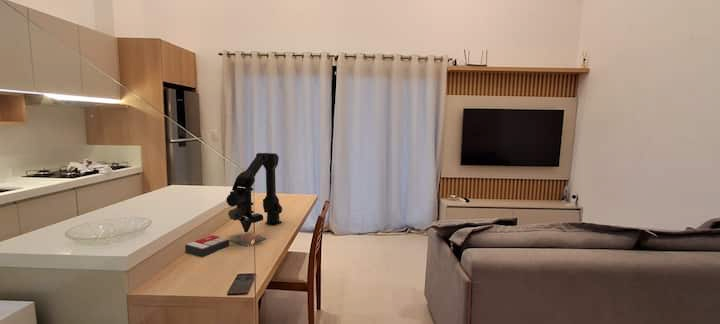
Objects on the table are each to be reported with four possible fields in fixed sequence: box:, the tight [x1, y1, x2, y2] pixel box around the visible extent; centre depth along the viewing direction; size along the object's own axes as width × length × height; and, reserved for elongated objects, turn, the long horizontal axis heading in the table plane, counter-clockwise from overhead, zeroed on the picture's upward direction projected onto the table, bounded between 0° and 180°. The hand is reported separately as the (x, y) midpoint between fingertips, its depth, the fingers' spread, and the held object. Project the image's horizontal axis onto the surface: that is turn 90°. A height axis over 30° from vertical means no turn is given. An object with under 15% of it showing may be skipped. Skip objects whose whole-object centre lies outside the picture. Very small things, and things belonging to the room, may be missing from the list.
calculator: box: [184, 235, 230, 258], centre depth 152 cm, size 11×4×15 cm
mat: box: [228, 232, 267, 247], centre depth 164 cm, size 12×13×1 cm
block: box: [239, 231, 261, 243], centre depth 163 cm, size 7×2×6 cm
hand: (246, 232), depth 164 cm, fingers closed
